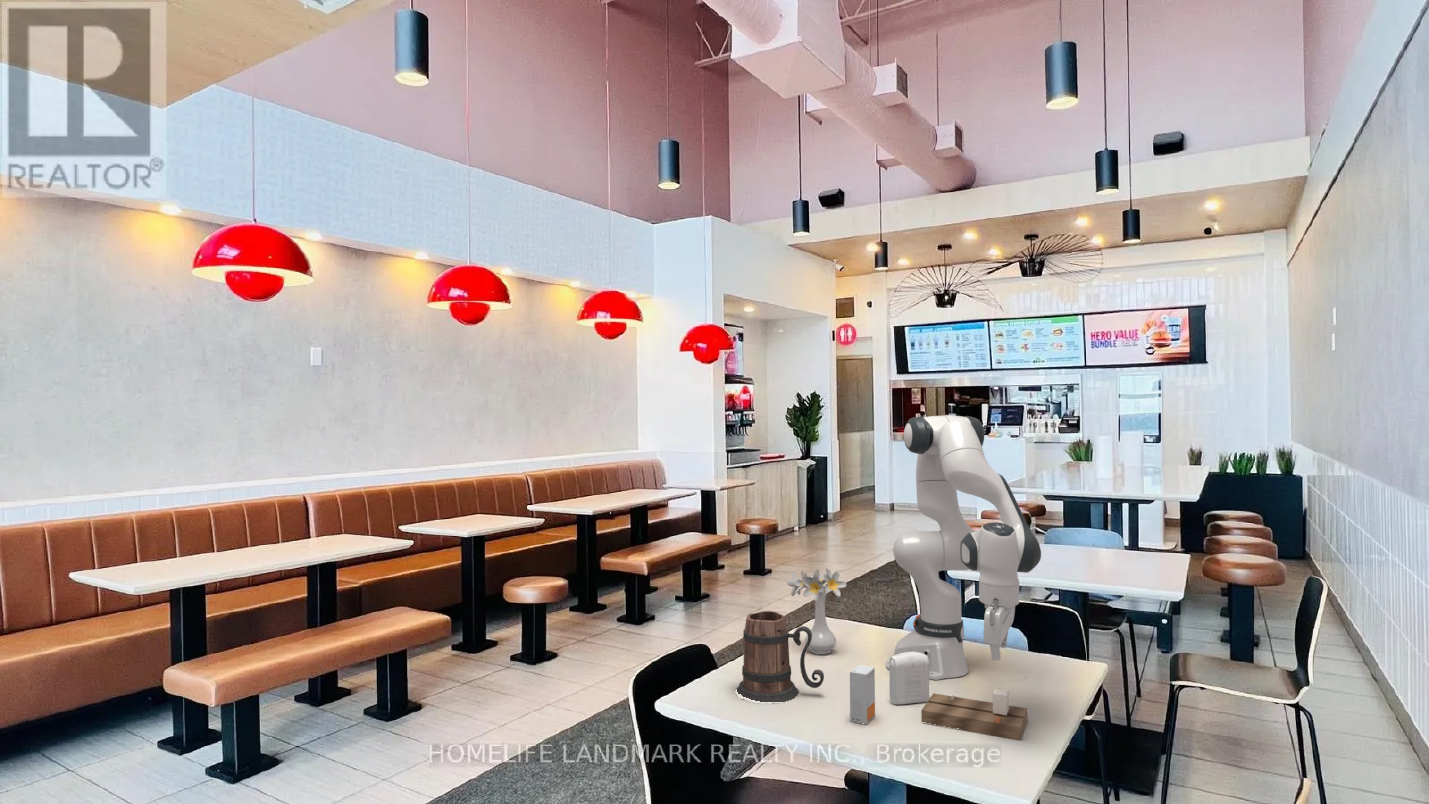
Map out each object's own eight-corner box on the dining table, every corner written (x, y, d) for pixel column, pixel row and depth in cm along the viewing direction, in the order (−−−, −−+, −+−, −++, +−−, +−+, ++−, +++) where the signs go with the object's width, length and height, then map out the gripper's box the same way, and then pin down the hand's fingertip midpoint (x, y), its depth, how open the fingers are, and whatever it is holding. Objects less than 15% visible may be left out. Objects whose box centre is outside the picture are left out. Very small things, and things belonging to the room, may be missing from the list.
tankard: (727, 700, 203) (726, 622, 203) (743, 678, 220) (742, 606, 220) (819, 709, 197) (817, 628, 197) (828, 685, 213) (827, 610, 213)
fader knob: (993, 720, 184) (992, 693, 184) (995, 715, 187) (995, 688, 187) (1006, 722, 182) (1006, 695, 182) (1009, 717, 186) (1008, 690, 186)
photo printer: (923, 696, 204) (923, 648, 204) (932, 702, 200) (931, 653, 200) (887, 700, 202) (886, 651, 202) (894, 706, 198) (893, 657, 198)
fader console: (921, 722, 188) (921, 709, 188) (933, 705, 198) (933, 692, 198) (1020, 740, 177) (1020, 726, 177) (1027, 721, 188) (1027, 707, 188)
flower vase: (797, 642, 251) (795, 563, 251) (853, 649, 243) (852, 567, 243) (782, 654, 240) (780, 571, 240) (841, 662, 232) (839, 576, 231)
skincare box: (866, 725, 187) (865, 674, 187) (849, 722, 189) (848, 671, 189) (876, 716, 192) (875, 667, 192) (859, 713, 194) (858, 664, 194)
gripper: (1006, 607, 174) (1006, 670, 174) (1019, 585, 192) (1019, 642, 192) (976, 604, 177) (976, 665, 177) (992, 582, 195) (992, 638, 195)
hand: (999, 653), depth 185 cm, fingers open, 8 cm apart
